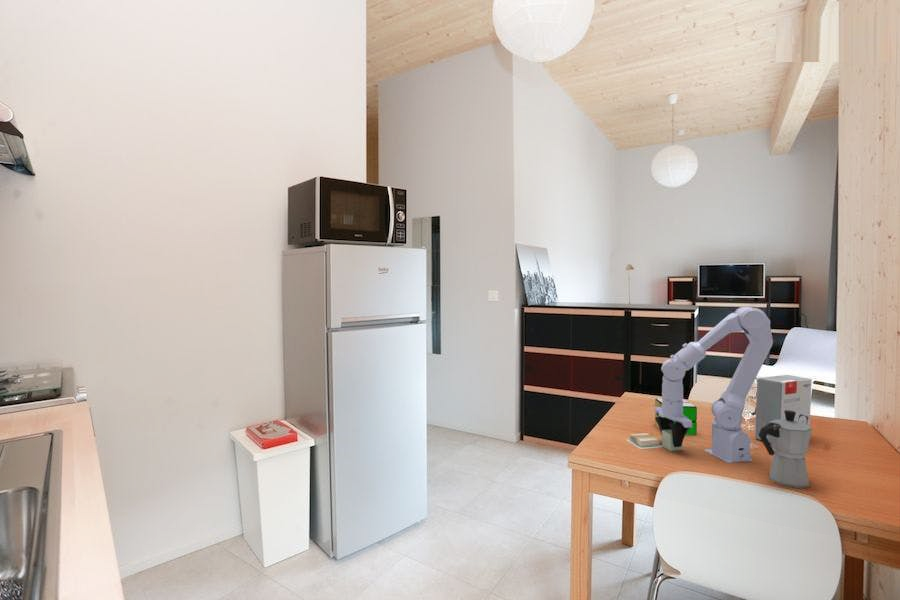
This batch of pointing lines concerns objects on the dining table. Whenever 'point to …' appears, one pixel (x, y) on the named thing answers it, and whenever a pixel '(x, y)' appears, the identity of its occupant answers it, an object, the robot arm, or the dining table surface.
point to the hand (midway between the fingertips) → (671, 443)
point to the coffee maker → (787, 450)
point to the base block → (644, 440)
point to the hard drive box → (782, 400)
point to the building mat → (643, 447)
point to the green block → (668, 440)
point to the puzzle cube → (688, 411)
